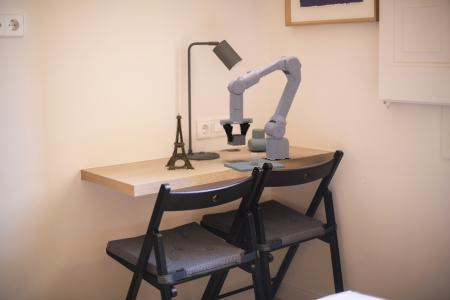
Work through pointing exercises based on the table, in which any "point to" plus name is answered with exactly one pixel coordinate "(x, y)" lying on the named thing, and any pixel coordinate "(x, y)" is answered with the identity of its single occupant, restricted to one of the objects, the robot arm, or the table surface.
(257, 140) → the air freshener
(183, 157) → the eiffel tower
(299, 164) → the table surface
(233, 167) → the piston stand
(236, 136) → the dark grey square block
